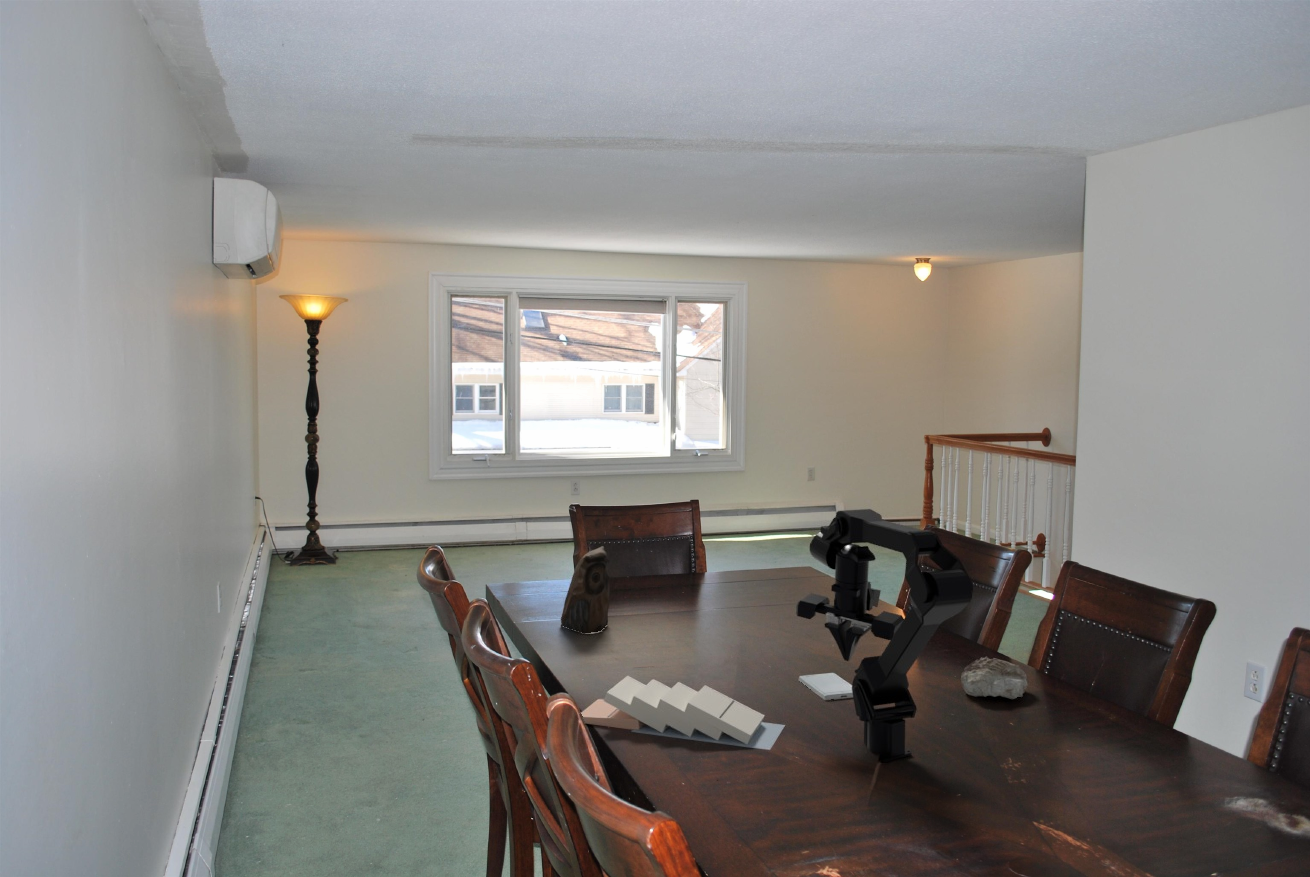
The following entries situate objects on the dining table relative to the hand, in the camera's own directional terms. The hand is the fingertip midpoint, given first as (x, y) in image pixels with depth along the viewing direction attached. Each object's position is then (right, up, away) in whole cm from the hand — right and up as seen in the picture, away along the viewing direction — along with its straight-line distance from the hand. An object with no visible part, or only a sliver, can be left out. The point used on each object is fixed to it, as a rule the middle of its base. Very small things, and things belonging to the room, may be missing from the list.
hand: (847, 660), depth 172 cm
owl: (-52, -8, +69) cm, 87 cm away
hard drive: (+1, -11, +21) cm, 24 cm away
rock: (+33, -11, +17) cm, 39 cm away
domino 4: (-22, -11, -4) cm, 25 cm away
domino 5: (-17, -11, -6) cm, 21 cm away
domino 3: (-27, -11, -2) cm, 29 cm away
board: (-25, -12, -3) cm, 28 cm away
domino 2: (-31, -10, 0) cm, 33 cm away
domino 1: (-36, -10, +1) cm, 37 cm away
